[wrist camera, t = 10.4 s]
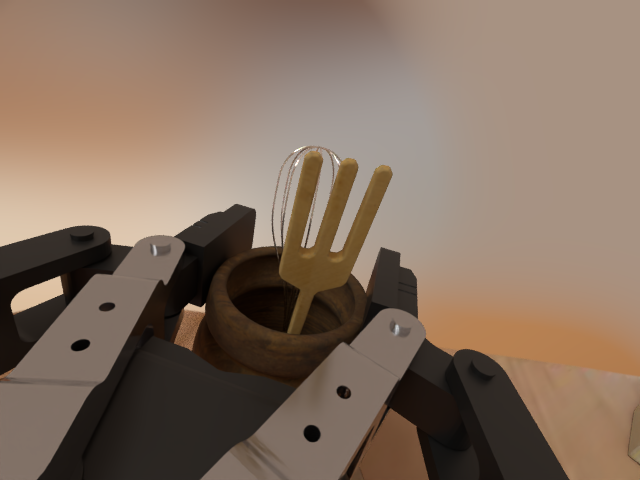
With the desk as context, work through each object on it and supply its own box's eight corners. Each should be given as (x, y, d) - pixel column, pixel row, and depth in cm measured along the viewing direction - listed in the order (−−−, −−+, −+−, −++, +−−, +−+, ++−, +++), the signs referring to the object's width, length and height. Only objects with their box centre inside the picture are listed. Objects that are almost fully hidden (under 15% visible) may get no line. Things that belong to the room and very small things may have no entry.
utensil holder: (325, 367, 17) (402, 127, 11) (343, 516, 11) (509, 191, 6) (205, 357, 16) (227, 87, 10) (162, 516, 10) (161, 121, 5)
